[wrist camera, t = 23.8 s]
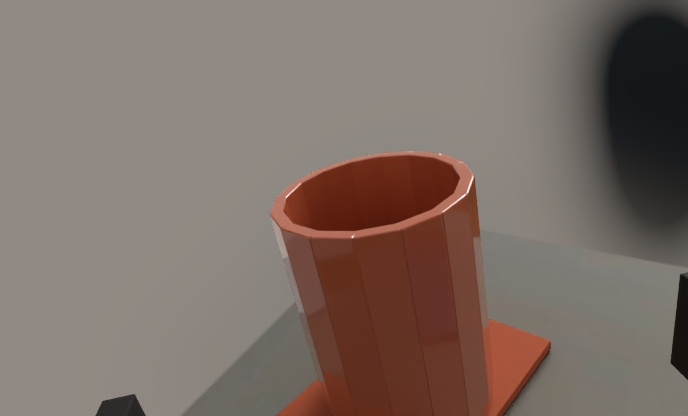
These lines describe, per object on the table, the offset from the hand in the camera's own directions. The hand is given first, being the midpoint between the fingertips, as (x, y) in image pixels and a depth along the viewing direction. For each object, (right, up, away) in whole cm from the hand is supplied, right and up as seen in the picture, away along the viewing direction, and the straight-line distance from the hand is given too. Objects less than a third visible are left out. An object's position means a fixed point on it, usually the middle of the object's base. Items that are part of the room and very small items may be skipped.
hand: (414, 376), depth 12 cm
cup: (+1, -4, +10) cm, 11 cm away
